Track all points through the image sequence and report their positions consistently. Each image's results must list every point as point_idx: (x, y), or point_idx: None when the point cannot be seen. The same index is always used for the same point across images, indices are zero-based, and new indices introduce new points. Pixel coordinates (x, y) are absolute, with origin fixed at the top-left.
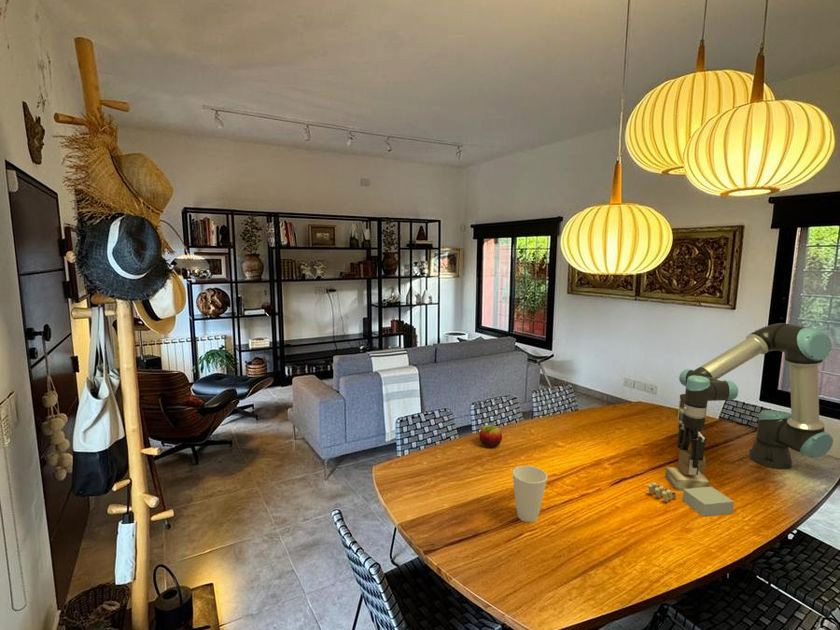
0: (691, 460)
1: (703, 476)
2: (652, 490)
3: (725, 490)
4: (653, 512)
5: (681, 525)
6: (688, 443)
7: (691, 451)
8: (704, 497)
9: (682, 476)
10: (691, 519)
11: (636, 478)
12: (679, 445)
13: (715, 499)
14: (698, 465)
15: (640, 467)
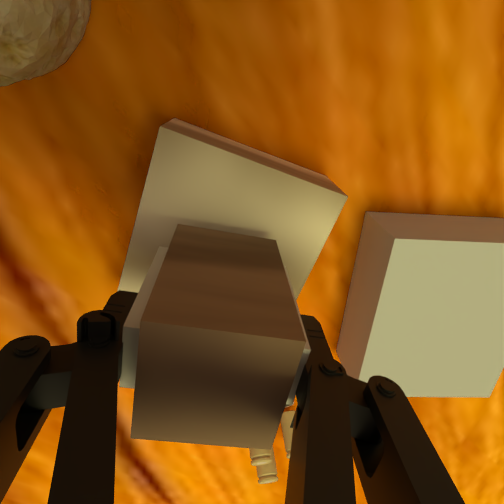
0: (291, 394)
1: (274, 178)
2: (273, 452)
3: (339, 25)
4: (358, 474)
5: (448, 445)
6: (114, 454)
7: (288, 479)
8: (452, 360)
9: None
10: (442, 400)
11: (127, 408)
12: (41, 419)
13: (493, 325)
14: (285, 280)
15: (10, 334)
